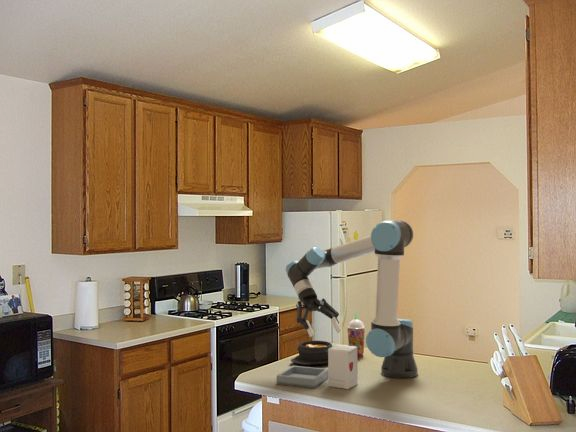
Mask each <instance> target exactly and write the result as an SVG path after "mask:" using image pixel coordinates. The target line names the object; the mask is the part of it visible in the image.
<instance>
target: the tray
mask: <svg viewBox="0 0 576 432" xmlns="http://www.w3.org/2000/svg"><path fill="white" fill-rule="evenodd" d="M327 380H328V368H321V367H311V366H302V365H301V366H300V365H291V366H290V367H287V369H284V370H283V371H281V372H280V373H278V374H276V385H280V386H291V387H298V388H306V389H317V388H318V387H319V386H321V384H323V383H324V382H325V381H327Z"/></svg>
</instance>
